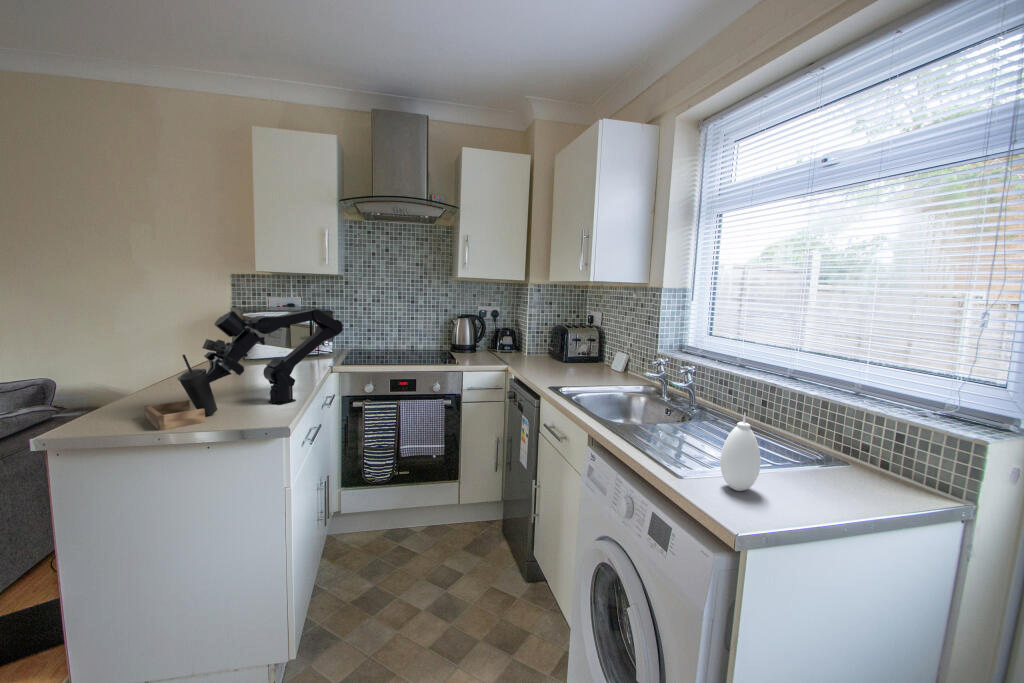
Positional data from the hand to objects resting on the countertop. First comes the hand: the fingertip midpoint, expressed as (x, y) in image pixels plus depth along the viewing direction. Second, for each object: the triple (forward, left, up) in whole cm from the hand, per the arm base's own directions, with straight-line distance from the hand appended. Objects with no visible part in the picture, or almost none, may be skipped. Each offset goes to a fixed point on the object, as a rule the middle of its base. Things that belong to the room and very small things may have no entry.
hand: (203, 383), depth 140 cm
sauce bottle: (-28, +151, -10) cm, 154 cm away
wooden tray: (+7, -2, -10) cm, 12 cm away
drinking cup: (-1, 0, -10) cm, 10 cm away
